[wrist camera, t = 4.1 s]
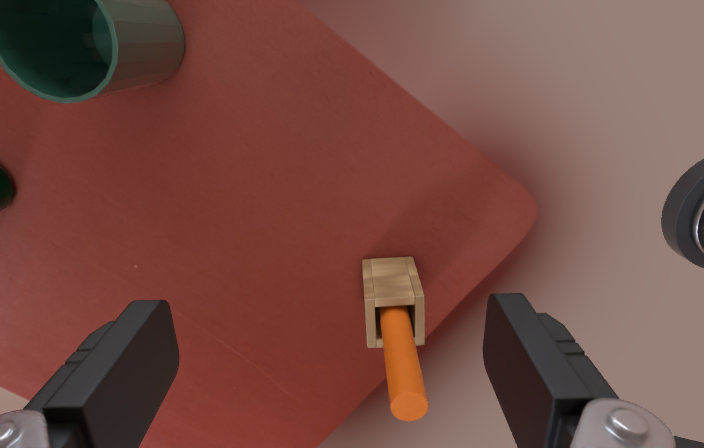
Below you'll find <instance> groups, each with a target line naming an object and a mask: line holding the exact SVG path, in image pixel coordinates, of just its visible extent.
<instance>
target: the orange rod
mask: <svg viewBox="0 0 704 448" xmlns="http://www.w3.org/2000/svg"><path fill="white" fill-rule="evenodd" d="M379 314H380V322H381V331H382V339H383V348H384V357H385V365H386V374H387V382H388V391H389V399H390V408H391V412H392V413H393V415H394V416H395V417H396V418H398V419H400V420H404V421H413V420H417V419H419V418H421V417H422V416H424V415H425V413H426V412H427V410H428V400H427V395H426V391H425V386H424V382H423V377H422V373H421V368H420V364H419V359H418V355H417V350H416V346H415V341H414V337H413V332H412V328H411V323H410V318H409V314H408V309H407V305H399V306H382V307H379Z"/></svg>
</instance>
